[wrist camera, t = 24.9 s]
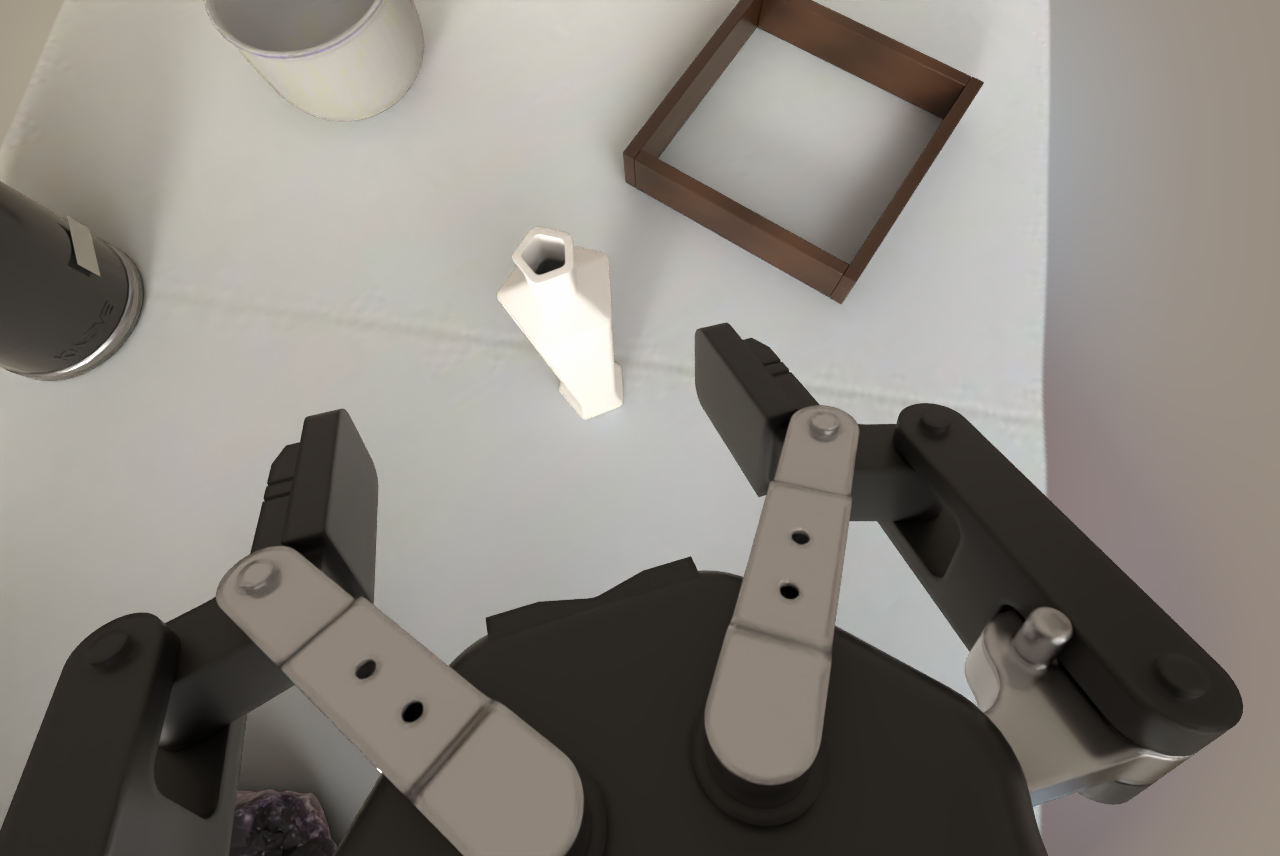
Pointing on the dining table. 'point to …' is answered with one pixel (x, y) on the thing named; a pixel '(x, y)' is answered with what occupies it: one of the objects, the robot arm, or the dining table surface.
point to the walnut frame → (793, 16)
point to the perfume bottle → (567, 316)
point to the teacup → (328, 50)
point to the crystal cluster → (279, 825)
